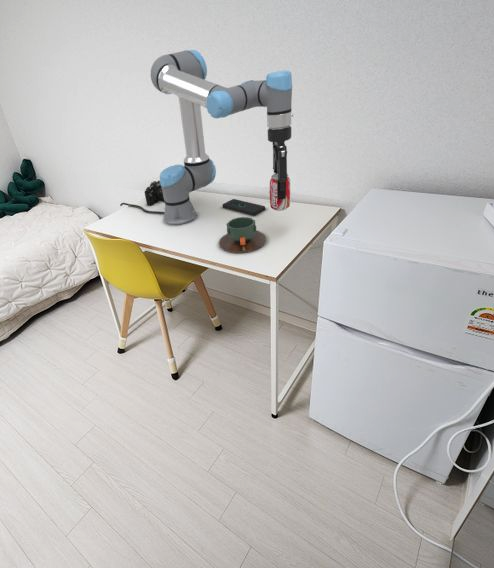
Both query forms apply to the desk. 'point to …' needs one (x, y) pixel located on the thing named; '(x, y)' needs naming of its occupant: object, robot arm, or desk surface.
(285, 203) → the soda can
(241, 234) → the cup holder
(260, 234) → the holder base
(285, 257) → the desk surface
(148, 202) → the film camera
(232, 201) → the smart home device
